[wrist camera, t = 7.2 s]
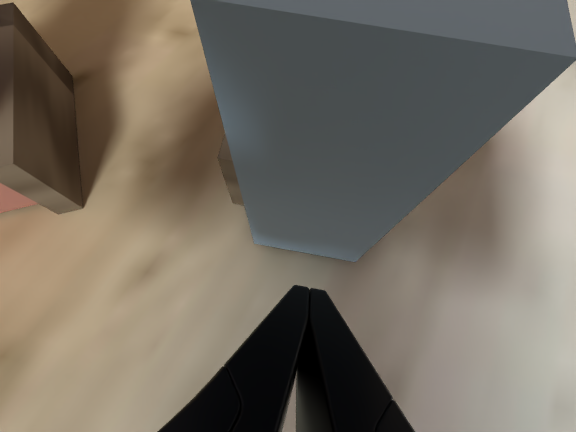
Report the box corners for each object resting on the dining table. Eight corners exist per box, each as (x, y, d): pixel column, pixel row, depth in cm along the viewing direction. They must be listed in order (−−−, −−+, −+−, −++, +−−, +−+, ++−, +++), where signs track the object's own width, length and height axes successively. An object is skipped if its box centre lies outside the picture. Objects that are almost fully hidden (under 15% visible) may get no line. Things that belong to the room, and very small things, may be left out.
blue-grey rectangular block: (355, 262, 15) (578, 57, 4) (254, 243, 15) (189, -4, 4) (362, 188, 17) (544, -118, 5) (270, 172, 17) (255, -157, 5)
